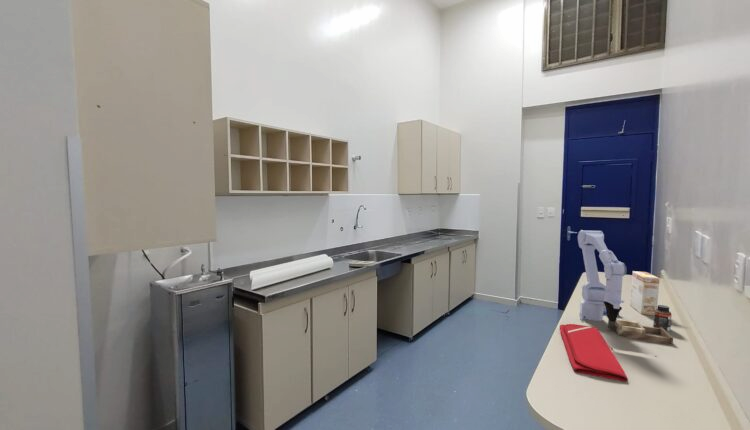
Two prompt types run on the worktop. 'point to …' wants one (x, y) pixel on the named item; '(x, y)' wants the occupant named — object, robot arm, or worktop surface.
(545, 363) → the worktop surface
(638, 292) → the coffeecake box
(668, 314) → the supplement bottle
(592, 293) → the robot arm
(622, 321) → the drawer
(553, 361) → the worktop surface
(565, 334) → the dish drying mat
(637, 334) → the bay
